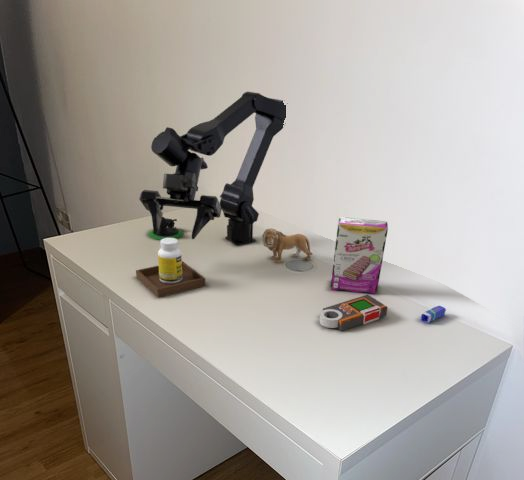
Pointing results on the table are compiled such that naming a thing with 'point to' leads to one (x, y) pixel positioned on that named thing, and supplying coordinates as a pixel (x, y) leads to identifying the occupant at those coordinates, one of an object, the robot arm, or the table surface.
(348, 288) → the candy bar box
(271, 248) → the lion figurine
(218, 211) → the robot arm
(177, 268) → the supplement bottle
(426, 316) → the eraser
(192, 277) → the tray
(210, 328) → the table surface
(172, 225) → the toy figurine
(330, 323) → the electronic device
